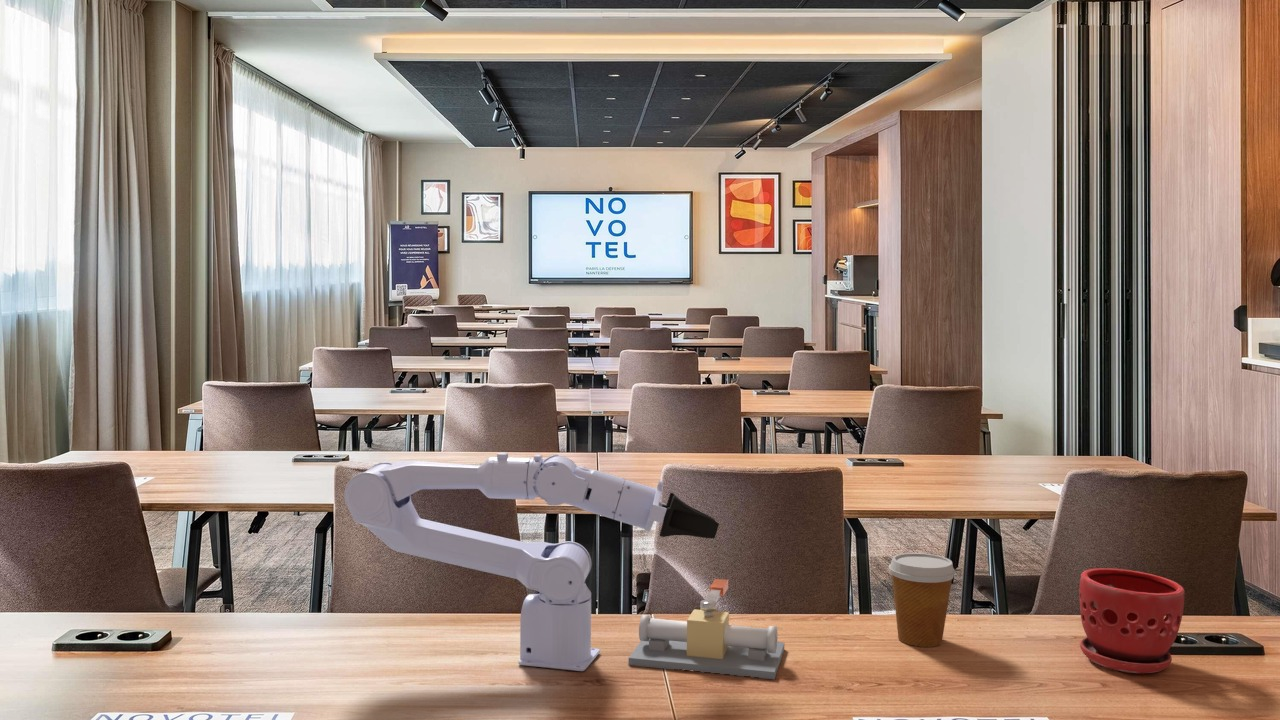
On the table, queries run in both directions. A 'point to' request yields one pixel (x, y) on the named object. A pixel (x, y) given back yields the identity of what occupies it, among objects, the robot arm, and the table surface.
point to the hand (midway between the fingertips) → (715, 528)
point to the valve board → (708, 664)
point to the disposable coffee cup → (921, 596)
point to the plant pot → (1129, 619)
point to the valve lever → (714, 595)
